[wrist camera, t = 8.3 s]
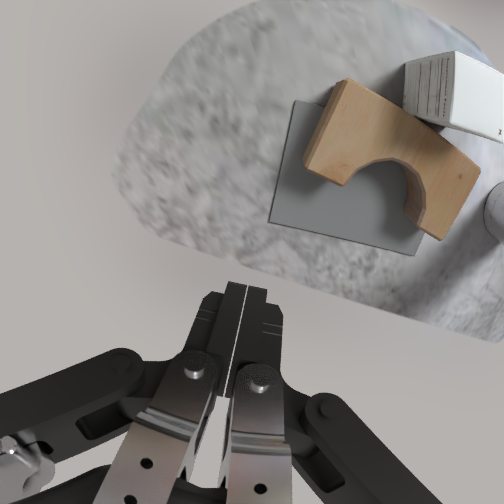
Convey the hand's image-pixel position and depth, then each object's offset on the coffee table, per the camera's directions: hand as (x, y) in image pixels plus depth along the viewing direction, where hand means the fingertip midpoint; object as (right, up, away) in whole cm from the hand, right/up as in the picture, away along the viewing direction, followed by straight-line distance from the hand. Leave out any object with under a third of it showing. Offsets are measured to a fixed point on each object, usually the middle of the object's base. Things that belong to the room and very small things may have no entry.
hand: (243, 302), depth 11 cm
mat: (+15, +11, +23) cm, 29 cm away
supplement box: (+22, +22, +16) cm, 35 cm away
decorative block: (+8, +16, +17) cm, 25 cm away
